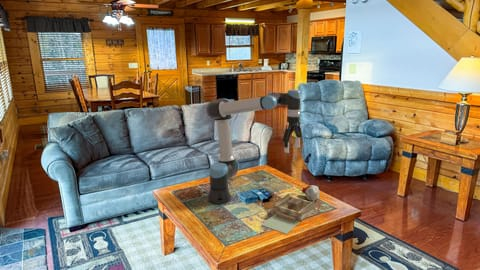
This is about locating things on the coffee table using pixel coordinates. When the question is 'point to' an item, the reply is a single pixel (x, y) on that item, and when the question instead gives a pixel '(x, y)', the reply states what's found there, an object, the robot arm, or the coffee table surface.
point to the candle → (311, 192)
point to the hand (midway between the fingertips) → (292, 149)
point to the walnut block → (294, 204)
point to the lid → (281, 222)
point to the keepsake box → (282, 207)
